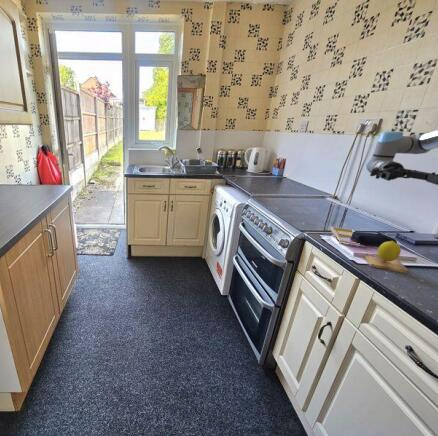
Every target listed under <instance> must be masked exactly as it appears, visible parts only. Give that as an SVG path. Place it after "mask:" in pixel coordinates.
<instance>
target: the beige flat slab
mask: <svg viewBox="0 0 438 436" xmlns="http://www.w3.org/2000/svg"><path fill="white" fill-rule="evenodd" d="M329 231H331V233H332V234H333V236H334V237H335V236H336V237H337V239H338V240H339V241H340V242H345V243H352V244H358V245H360V243H356V242H350V241H344V240H341V238H340V237H342V238H350V237H351V236H352V233H353V232H356V231H355V230H354V229H351V228H345V227H338V226H332V225H330V228H329ZM336 237H335V238H336ZM337 239H336V240H337Z"/></svg>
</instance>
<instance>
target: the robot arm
mask: <svg viewBox="0 0 438 436" xmlns="http://www.w3.org/2000/svg"><path fill="white" fill-rule="evenodd" d="M435 149H438V128H437V129H435V130H431V131H427V132H424V133H422V134H418V135H415V136H411V135H410V136H409V135H404V132H403V131H389V130H388V131H386V130H385V131H381V133H380V135H379V136H378V139H377V141H376V145H375V148H374V151H373V153H372V156H371V158H370V159H369V160H368V161H367V162H366V164H365V169H366V171H368V172H369V173H370V174H369V176H370V177H375V179H377V180H379V179H381V180H382V179H383V180H385V181H389V182H390V181H391V180H392V181H393V180H396V179H416V180H419V181H420V180H422V181H425V182H427V183H431V184H433V185H435V186H438V173H436V171H435V172H426V171H422V170H421V171H420V170H416V169H408V168H405V166H404V165H403V164H402V163H400V162H397V161H394V159H395V157H396V154H405V155H406V154H407V155H410V154H411V155H420V154H421V155H422V154H426V153H430V151H432V150H435Z"/></svg>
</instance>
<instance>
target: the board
mask: <svg viewBox="0 0 438 436" xmlns="http://www.w3.org/2000/svg"><path fill="white" fill-rule="evenodd" d="M365 259H366V260H365ZM364 260H365V261H366V262H367V264H368V265H369V267H372V268H378V269H383V270H388V271H394V272H398V273H399V272H400V273H403V274H409V272H410V270H409V269H408V268H407V267H406V266H405V265H404V264H402V262H401V261H400V260H399V259H398V258H397V259H396V260H393V261H387V262H384V261H383V260H382V259H381V258H378V257H372V256H365V258H364Z"/></svg>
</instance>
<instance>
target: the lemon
mask: <svg viewBox="0 0 438 436" xmlns="http://www.w3.org/2000/svg"><path fill="white" fill-rule="evenodd" d="M401 252H402V249H401V246H400V245H399V244H398V243H396V242H395V241H394V240H390V241H384V242H383V243H381V244H380V245H379V247H378V248H377V256H379V257H380V258H381V259H382V260H383V261H384V262H387V261H393V260H396V259H397V260H398V258H399V257H400V255H401Z"/></svg>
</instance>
